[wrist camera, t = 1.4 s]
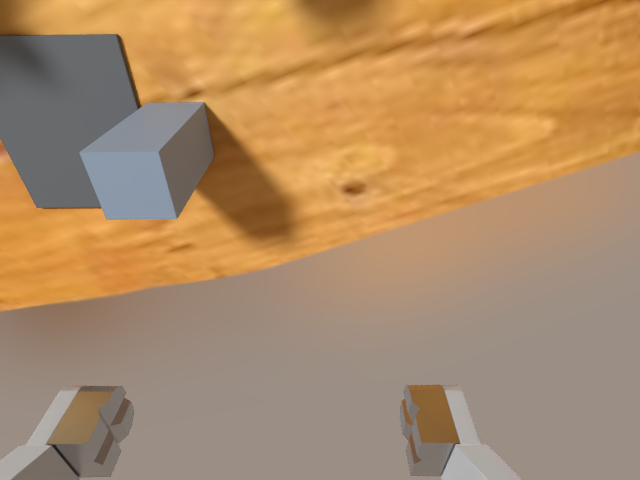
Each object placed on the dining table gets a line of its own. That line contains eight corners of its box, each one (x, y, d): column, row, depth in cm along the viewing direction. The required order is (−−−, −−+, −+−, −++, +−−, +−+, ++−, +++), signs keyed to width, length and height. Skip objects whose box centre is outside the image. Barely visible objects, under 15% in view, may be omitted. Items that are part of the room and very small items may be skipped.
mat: (117, 34, 26) (115, 34, 26) (167, 205, 34) (165, 206, 34) (-50, 36, 26) (-54, 36, 26) (38, 206, 35) (36, 207, 34)
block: (204, 102, 29) (158, 151, 21) (214, 156, 32) (176, 219, 24) (147, 102, 29) (79, 152, 21) (161, 156, 32) (106, 219, 24)
